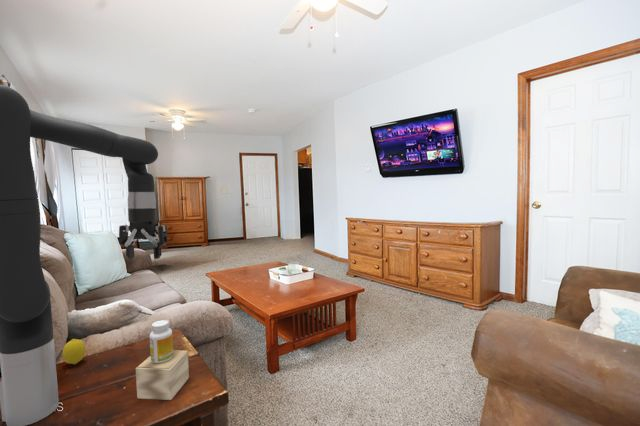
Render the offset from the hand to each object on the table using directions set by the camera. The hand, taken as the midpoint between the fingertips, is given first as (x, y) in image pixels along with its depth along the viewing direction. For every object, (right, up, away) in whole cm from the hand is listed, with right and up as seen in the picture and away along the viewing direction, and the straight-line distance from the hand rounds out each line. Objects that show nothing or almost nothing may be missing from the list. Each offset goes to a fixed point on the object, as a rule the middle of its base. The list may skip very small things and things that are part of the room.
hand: (144, 258), depth 95 cm
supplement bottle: (+13, -25, -14) cm, 31 cm away
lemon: (-20, -32, -2) cm, 38 cm away
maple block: (+13, -33, -14) cm, 38 cm away
